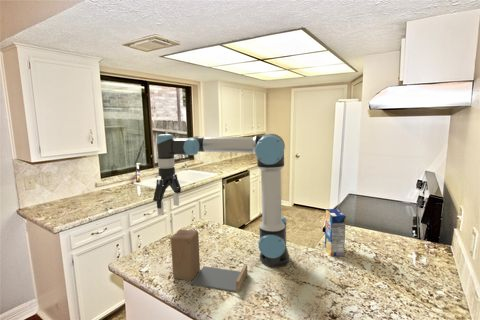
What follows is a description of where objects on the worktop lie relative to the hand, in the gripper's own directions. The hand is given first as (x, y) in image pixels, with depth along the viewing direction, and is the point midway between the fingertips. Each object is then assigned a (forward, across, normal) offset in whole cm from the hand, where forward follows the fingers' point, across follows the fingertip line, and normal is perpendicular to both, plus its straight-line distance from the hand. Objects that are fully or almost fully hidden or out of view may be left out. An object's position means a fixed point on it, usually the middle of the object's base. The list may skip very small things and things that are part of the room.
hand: (169, 209), depth 128 cm
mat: (+28, +5, +27) cm, 40 cm away
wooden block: (+29, +5, +11) cm, 31 cm away
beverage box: (+28, -36, +78) cm, 91 cm away
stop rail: (+28, +4, +38) cm, 48 cm away
